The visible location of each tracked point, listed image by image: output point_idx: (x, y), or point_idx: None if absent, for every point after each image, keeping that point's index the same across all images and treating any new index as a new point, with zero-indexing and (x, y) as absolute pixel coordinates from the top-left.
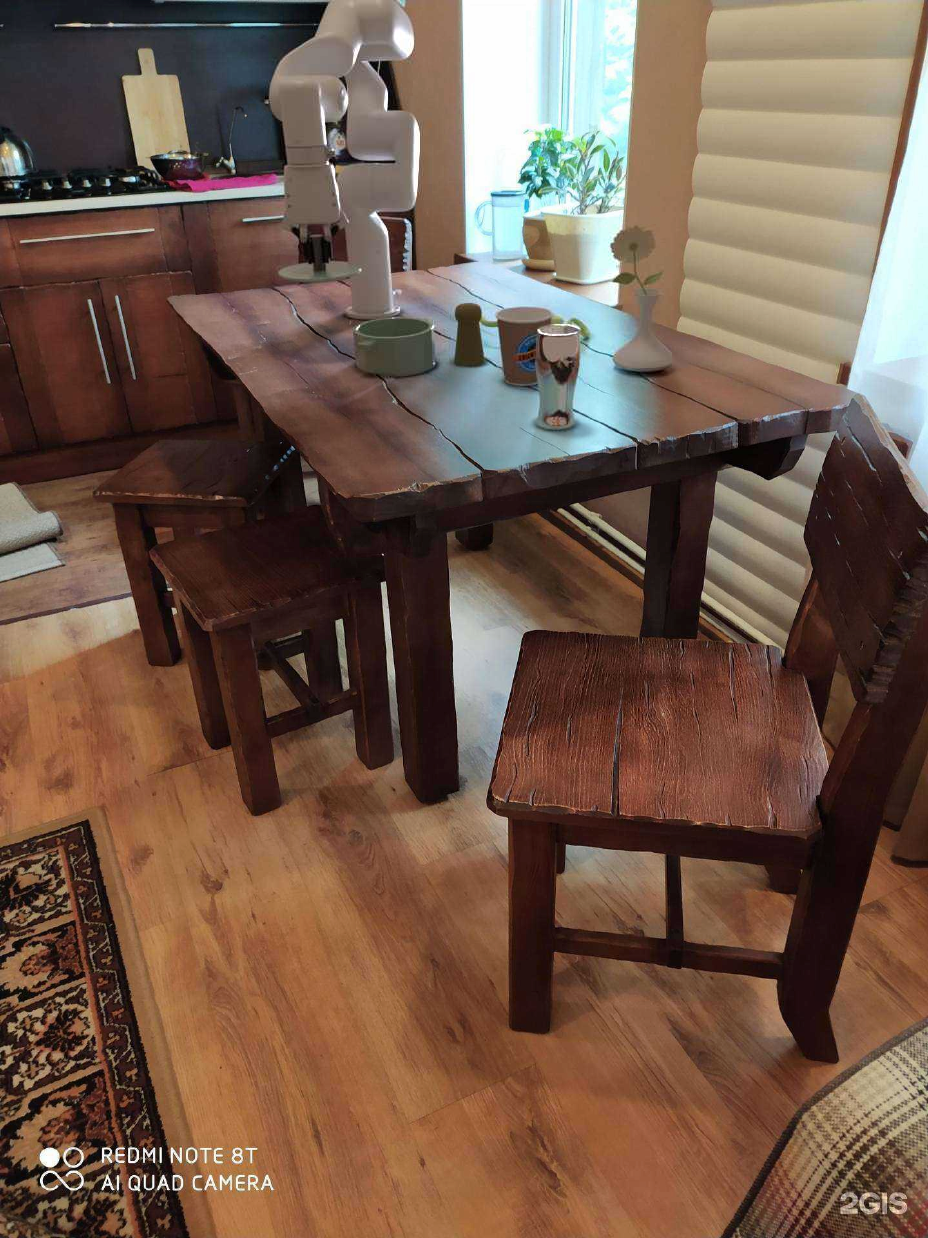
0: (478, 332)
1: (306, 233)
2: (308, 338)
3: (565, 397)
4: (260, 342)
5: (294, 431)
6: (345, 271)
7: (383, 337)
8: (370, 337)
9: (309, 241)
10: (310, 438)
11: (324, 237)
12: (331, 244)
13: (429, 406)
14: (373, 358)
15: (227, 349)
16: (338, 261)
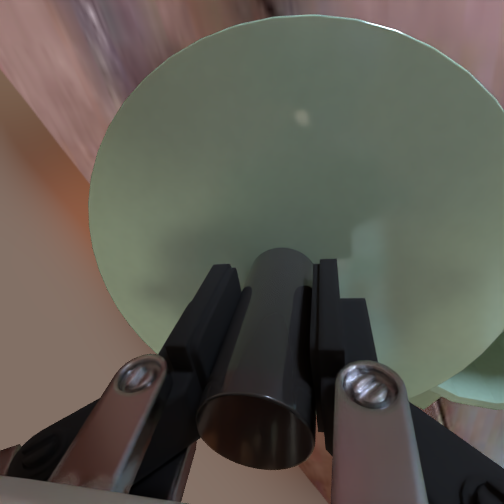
0: None
1: (180, 486)
2: (215, 7)
3: None
4: (100, 59)
5: (308, 475)
6: (423, 331)
7: (469, 402)
8: (436, 393)
9: (203, 384)
10: (329, 490)
11: (331, 452)
12: (374, 347)
13: (493, 455)
14: None
15: (58, 128)
16: (377, 33)
